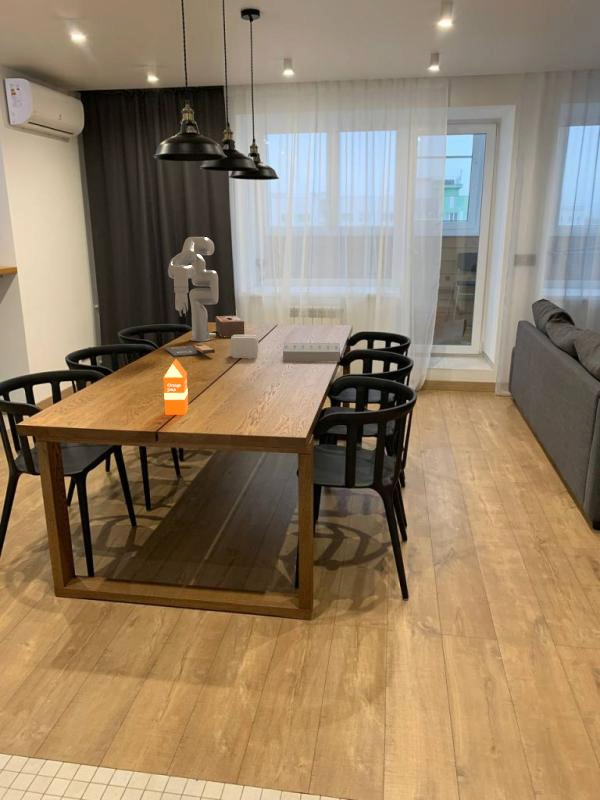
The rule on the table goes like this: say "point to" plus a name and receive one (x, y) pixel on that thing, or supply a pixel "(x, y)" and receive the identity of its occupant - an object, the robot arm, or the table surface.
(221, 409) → the table surface
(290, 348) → the warehouse
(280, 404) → the table surface
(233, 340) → the cable organizer
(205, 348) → the swing arm
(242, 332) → the tissue box cover
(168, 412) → the orange juice
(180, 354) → the label panel
